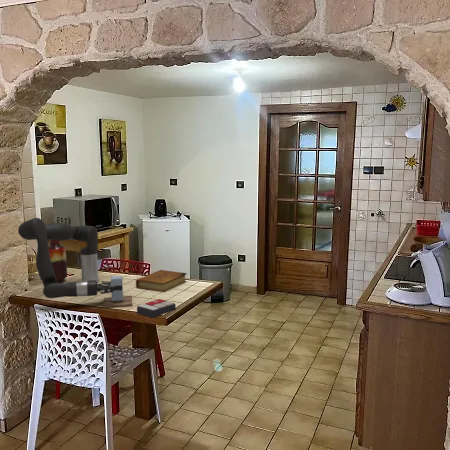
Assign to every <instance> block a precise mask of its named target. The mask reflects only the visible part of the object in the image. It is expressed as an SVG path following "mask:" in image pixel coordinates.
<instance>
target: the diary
mask: <svg viewBox="0 0 450 450" xmlns="http://www.w3.org/2000/svg"><path fill="white" fill-rule="evenodd" d="M186 275H187V273H186V272H181V271H174V270H173V271H172V270H165V269H164V270H163V269H159V270H158V271H155V272H152V273H150V274H146V275H144V276H142V277H138V278H137V279H136V280H135V289H140V290H146V291H152V292H160V293H166V292H168V291H170V290H171V289H175V288H177V287H179V286H180V285H183V284H185V283H187V282H188V281H187V280H186Z"/></svg>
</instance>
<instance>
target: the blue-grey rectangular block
mask: <svg viewBox="0 0 450 450" xmlns="http://www.w3.org/2000/svg"><path fill="white" fill-rule="evenodd" d="M110 281H111V284H110V285H111V286H122V290H117V291H115V290H114V291H113V292H112V293H110V295H111V297H112V301H120V300H123V296H124V289H123V286H124V285H123V276H122V275H117V276H116V275H115V276H111V277H110Z"/></svg>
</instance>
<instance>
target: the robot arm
mask: <svg viewBox="0 0 450 450" xmlns="http://www.w3.org/2000/svg"><path fill="white" fill-rule="evenodd" d="M17 232H18V234H19V236H20V237H21V238H22V239H24V240H27V241H32V240H33V241H34V240H36V242H37V243H36V244H37V252H36V258H35V265H36V271H37V274H38V277H39V279H40V281H41V282H42V286H43V288H42V289H43V290H42V294H43V295H44V297H46V298H47V299H57V298H66V297H67V298H68V297H69V298H71V297H93V296H95V297H96V296H97V295H98V292H99V293H100V294H101V295H104V294H109V293H110V294H111V293H112V292H113V291H114V290H115V291H117V290H122V286H111V280H110V281H109V280H108V281H104V280H102V281H101V282H100V283H99V281H100V280H99V264H98V263H99V262H98V261H99V260H98V247H99V233H98V229H97V227H96V226H92V225H77V226H76V225H73V226H72V225H71V224H68V223H62V222H54V223H46V224H45V222H44V220H42V219H41V218H40V217H34V218H31V219H28V220H26V221H23V222H22V223H21V224H20V225H19V226H18V228H17ZM50 240H59V241H60V242H61V241H62V242H63V241H64V242H65V241H70V240H74V241H79V242H83V243H86V246H85V247H83V248H80V250H79V252H80V253H79V254H80V268H81V280H80V281H70V282H63V283H58V281H57V279H56V277H55V274H54V270H53V266H52V263H51V259H50V255H49V248H48V246H49V242H48V241H50Z"/></svg>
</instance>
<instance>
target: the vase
mask: <svg viewBox="0 0 450 450" xmlns="http://www.w3.org/2000/svg"><path fill="white" fill-rule="evenodd" d="M48 248H49V255H50V259H51V263H52V266H53V270H54V274H55V277H56V279H57V281H58V283H66V281H67V280H66V279H67V277H68V266H67V265H68V264H67V250H66V246H65V245H63V244H61V241H59V240H49V244H48Z"/></svg>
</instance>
